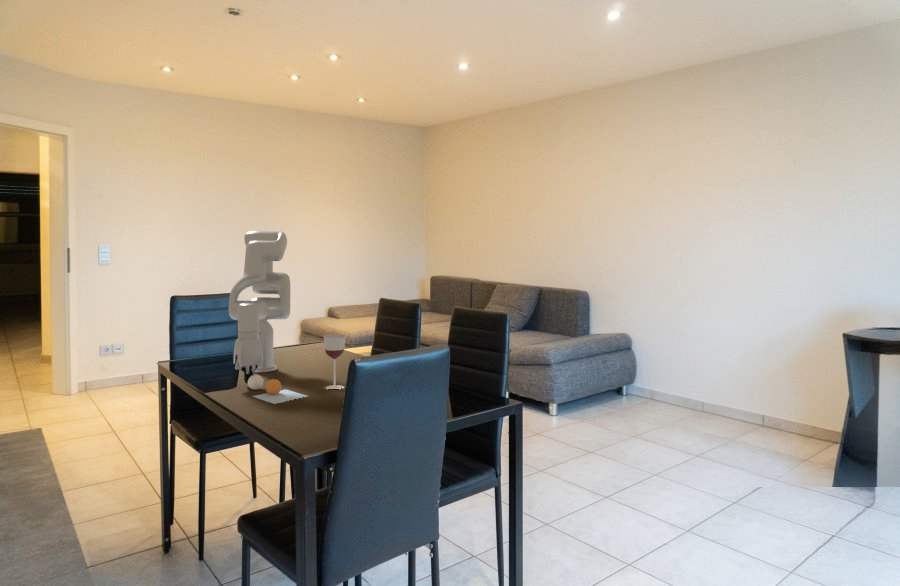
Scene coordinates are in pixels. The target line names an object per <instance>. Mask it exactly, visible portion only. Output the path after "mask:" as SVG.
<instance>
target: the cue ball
mask: <svg viewBox="0 0 900 586" xmlns="http://www.w3.org/2000/svg"><path fill="white" fill-rule="evenodd" d="M247 385H248V387H249V388H250V390H255V391H257V390H260V389H261V388H262V387H263V385H264V378H263V377H262V376H261V375H259V374H253V375H252V376H251V377H250V378H249V379H248V384H247Z"/></svg>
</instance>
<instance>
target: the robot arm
mask: <svg viewBox="0 0 900 586" xmlns="http://www.w3.org/2000/svg"><path fill="white" fill-rule="evenodd" d="M243 237H244V238H243V239H244V244H245V252H244V253H245V255H244V266H243V276H242V277H241V278H240V279H239V280H237V281H236V283H235V284H234V285H233V287H232V288H231V291H230V293H229V300H228V301H229V302H228V315H229V317H230V318H231V319H232V320H234V321H237V339H235V342H234V347H233V357H232V359H233V364H234V365H235V367H234V369H235V370H237V371H241V372H242V373H243V374H244V375H243V380H244V383H245V384H247V385H248V379H249V378H250V377H251V376H252V375H254V373H257V374H258V373H270V372H274V371H277V370H278V366H277V365H276V364H274V328H273V326H272V324H271V323H270V322H269V320H286V319H288V318H289V317H290V315H291V280H290V279H291V278H290V276H289V275H288V274H287V273H285V272H274V271H273V269H274V267H273V266H274V262H280V261H282V259H283V258H284V256H285V252H286V250H287V245H288V238H287V234H285V232H283V231H278V230H277V231H274V230H273V231H271V230H269V231H267V230H252V231H247V232H246V233H244V236H243ZM248 288H252V291H253V293H255V294H258V295H278V297H271V296H270V297H269V296H268V297H264V296H261V297H259V296H258V297H254V298H252V299H250V300H239V296H240V295H241V294H242V293H243V292H244V291H245V290H246V289H248Z"/></svg>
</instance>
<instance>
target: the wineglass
mask: <svg viewBox="0 0 900 586" xmlns="http://www.w3.org/2000/svg"><path fill="white" fill-rule="evenodd" d="M323 344H324V345H323V346H324V351H325V354H326V355H327V357H330V358H331V359H333V385H327V387H326V386H325V387H326V389H325V390H328V389H339V390H342V389H344V388H345V386H343V385H340V384H339V385H338V384H337V385H336V381H337V380H336V375H337V374H336V373H337V371H336V369H337V367H336V359H337V358H339V357H340V356H342V355H343V354H344V351H345V348H346V347H345V346H346V335H345V334H335V333H334V334H325V335H323ZM341 388H342V389H341Z"/></svg>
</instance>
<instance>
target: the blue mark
mask: <svg viewBox="0 0 900 586" xmlns="http://www.w3.org/2000/svg"><path fill="white" fill-rule="evenodd" d="M254 397H255V398H254ZM303 397H304V398H308V397H309V395H307V394H306V395H305V394H303V393H299V392H298V391H297V392H296V391H292V390H290V389H281V390H280V392H279V393H278V394H275V395H271V394H269V393H268V392H266V393H262V394H257V395H252V398H254V399H258V400H261V401H264V402H267V403H270V404H273V405H277V403H278V404H282V403H285V402H286V401H287V402H291V401H295V400H294V399H296V400H300V399H304V398H303ZM299 398H300V399H299ZM290 400H291V401H290Z"/></svg>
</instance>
